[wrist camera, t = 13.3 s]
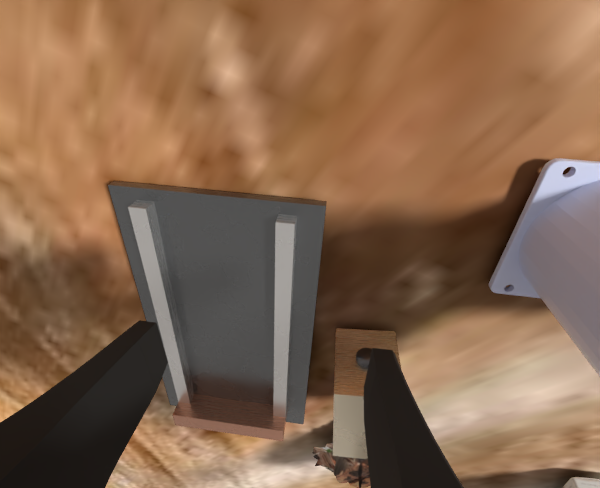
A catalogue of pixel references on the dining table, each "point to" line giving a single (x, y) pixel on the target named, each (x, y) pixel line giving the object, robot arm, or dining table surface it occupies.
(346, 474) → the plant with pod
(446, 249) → the dining table surface
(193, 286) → the rail guide
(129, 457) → the dining table surface
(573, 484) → the skincare box
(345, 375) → the block
